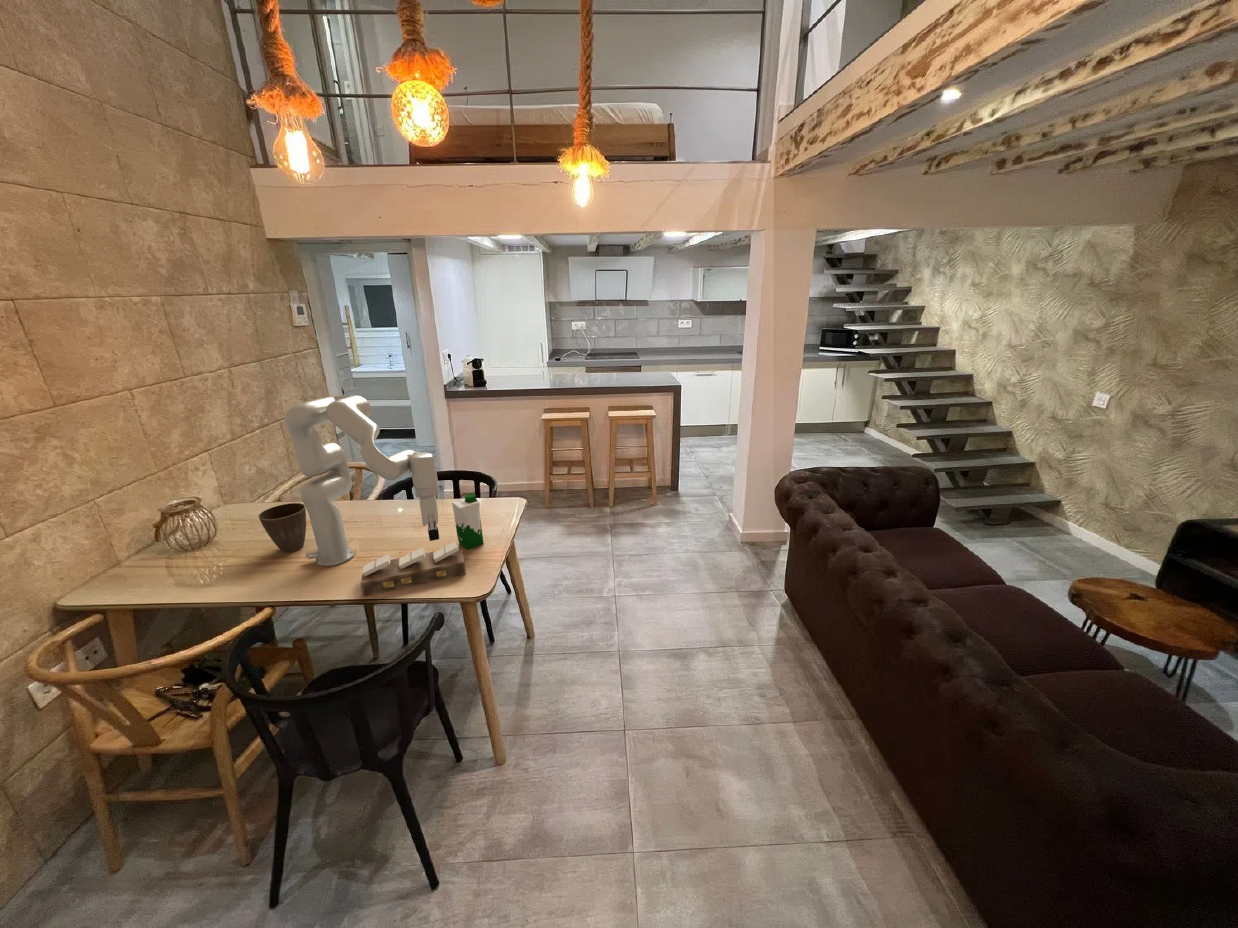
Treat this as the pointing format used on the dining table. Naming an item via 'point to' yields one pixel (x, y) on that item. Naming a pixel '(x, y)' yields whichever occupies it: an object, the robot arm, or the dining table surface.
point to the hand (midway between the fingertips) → (434, 539)
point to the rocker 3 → (445, 551)
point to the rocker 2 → (411, 558)
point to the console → (413, 573)
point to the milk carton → (468, 522)
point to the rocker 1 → (376, 565)
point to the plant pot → (286, 525)
